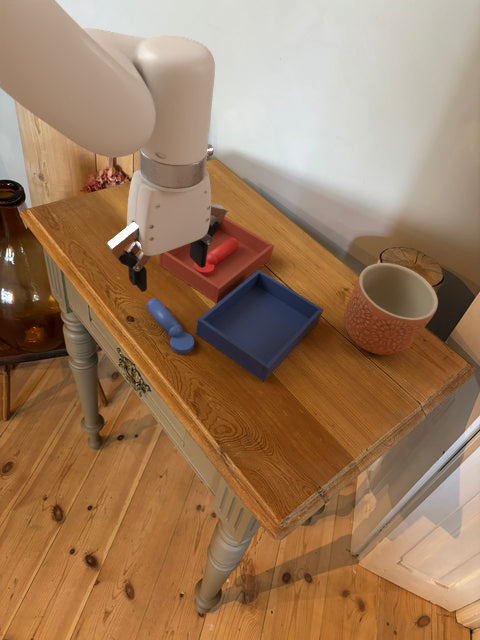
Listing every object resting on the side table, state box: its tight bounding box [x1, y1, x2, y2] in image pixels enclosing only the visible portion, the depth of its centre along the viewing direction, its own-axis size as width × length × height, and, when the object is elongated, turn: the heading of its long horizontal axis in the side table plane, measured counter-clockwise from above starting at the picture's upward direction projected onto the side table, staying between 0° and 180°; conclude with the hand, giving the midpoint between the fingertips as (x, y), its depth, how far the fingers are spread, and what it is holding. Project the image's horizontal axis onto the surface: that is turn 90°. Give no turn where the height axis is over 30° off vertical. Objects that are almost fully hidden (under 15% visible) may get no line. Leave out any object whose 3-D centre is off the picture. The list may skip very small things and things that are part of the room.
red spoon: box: [194, 238, 239, 276], centre depth 83 cm, size 11×4×2 cm, turn 143°
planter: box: [343, 262, 439, 356], centre depth 74 cm, size 12×12×11 cm
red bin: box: [158, 216, 275, 304], centre depth 83 cm, size 13×16×4 cm
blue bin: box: [195, 269, 324, 382], centre depth 74 cm, size 13×16×4 cm
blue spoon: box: [146, 297, 195, 355], centre depth 71 cm, size 11×4×2 cm, turn 38°
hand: (169, 273), depth 65 cm, fingers open, 9 cm apart
